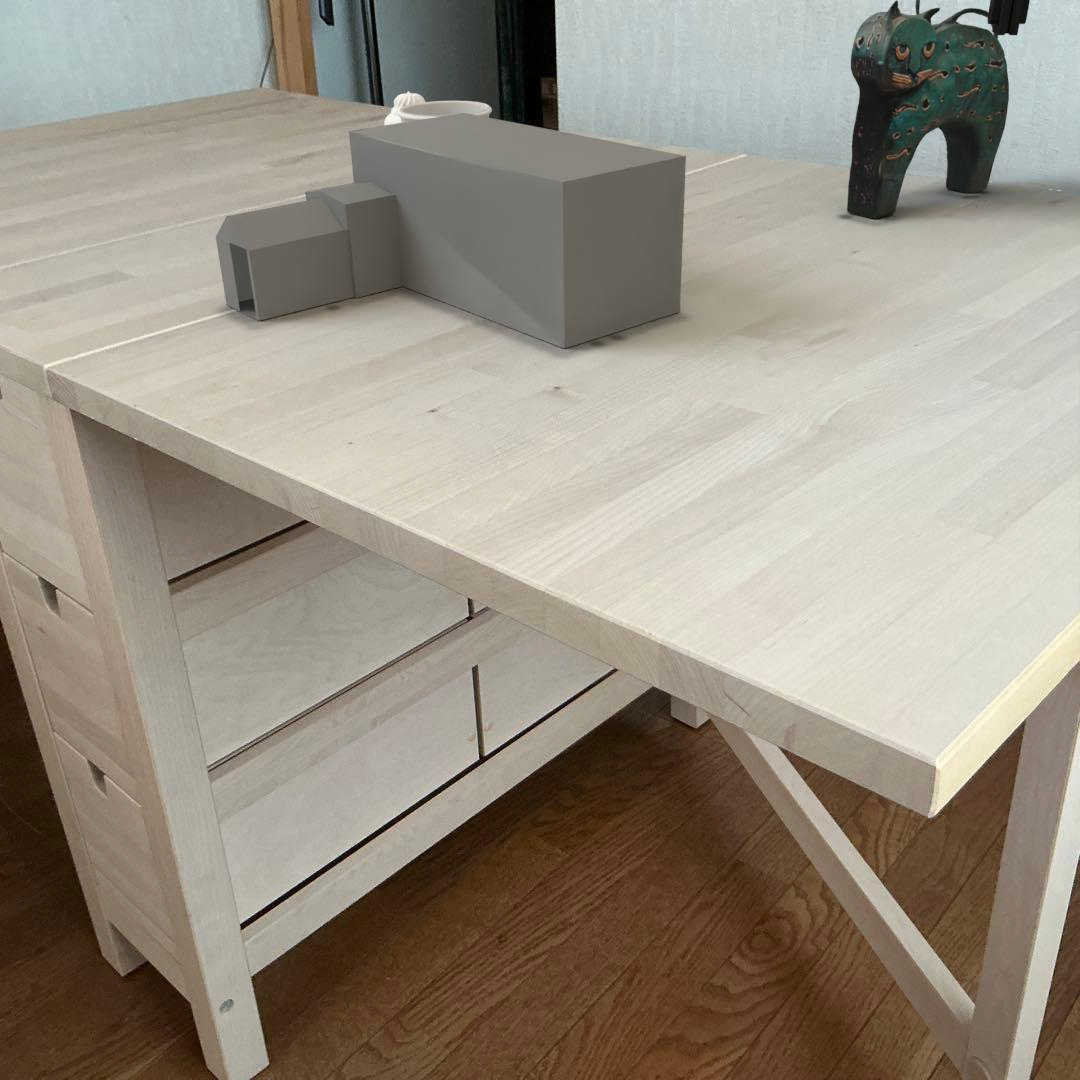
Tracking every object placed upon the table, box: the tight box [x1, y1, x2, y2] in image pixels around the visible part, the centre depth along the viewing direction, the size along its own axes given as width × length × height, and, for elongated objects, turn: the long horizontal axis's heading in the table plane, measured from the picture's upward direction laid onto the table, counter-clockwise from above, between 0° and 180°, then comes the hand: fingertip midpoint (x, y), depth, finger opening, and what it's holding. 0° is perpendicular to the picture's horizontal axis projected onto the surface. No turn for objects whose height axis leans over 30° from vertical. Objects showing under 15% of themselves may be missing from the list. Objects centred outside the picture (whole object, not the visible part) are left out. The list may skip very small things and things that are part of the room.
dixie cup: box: [398, 100, 493, 123], centre depth 105 cm, size 8×8×10 cm
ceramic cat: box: [846, 0, 1010, 220], centre depth 105 cm, size 20×6×20 cm, turn 126°
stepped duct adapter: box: [215, 113, 687, 349], centre depth 83 cm, size 25×23×11 cm
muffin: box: [383, 90, 426, 126], centre depth 133 cm, size 6×6×7 cm
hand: (1004, 33), depth 102 cm, fingers closed
